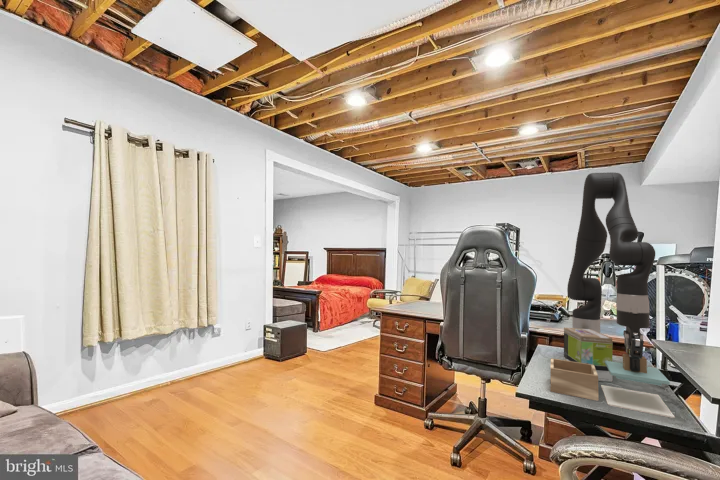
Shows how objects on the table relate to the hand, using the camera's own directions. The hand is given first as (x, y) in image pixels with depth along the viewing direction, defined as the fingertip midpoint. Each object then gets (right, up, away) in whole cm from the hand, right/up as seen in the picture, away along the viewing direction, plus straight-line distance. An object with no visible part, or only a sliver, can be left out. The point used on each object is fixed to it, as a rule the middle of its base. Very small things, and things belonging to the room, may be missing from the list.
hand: (633, 368), depth 97 cm
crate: (-13, -9, +7) cm, 18 cm away
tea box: (+1, -10, +22) cm, 24 cm away
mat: (0, -9, 0) cm, 9 cm away
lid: (0, -2, 0) cm, 2 cm away
